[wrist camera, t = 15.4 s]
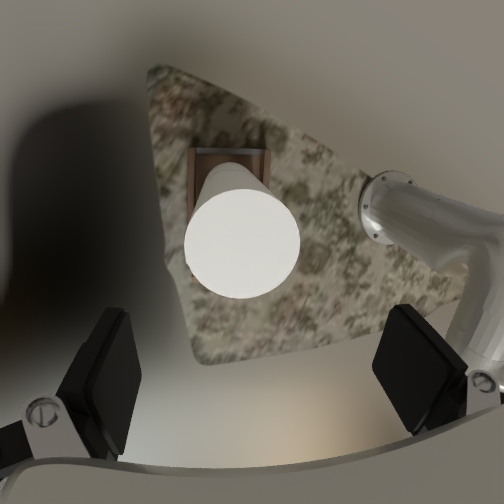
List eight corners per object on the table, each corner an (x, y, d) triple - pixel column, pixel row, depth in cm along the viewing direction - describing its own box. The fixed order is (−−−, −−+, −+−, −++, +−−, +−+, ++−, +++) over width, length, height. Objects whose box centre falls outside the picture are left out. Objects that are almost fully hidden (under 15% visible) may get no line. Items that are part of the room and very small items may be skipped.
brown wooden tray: (266, 149, 41) (277, 151, 33) (259, 258, 46) (268, 283, 38) (191, 147, 39) (184, 148, 31) (191, 257, 45) (185, 282, 37)
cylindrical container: (252, 212, 43) (291, 299, 20) (202, 209, 42) (183, 295, 19) (256, 164, 41) (307, 194, 17) (206, 160, 40) (186, 185, 16)
